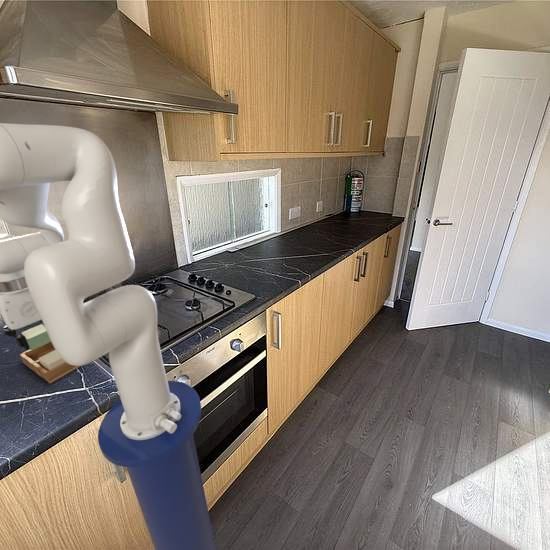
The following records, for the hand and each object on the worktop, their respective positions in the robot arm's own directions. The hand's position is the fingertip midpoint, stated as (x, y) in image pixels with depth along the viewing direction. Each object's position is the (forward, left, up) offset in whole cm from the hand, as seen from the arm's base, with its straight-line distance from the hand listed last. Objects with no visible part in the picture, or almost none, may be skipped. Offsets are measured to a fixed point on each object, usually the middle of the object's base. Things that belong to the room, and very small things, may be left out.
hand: (38, 340), depth 82 cm
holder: (-4, 0, -6) cm, 8 cm away
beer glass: (+11, -29, -7) cm, 32 cm away
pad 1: (0, 0, 0) cm, 0 cm away
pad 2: (-8, 0, -6) cm, 10 cm away
